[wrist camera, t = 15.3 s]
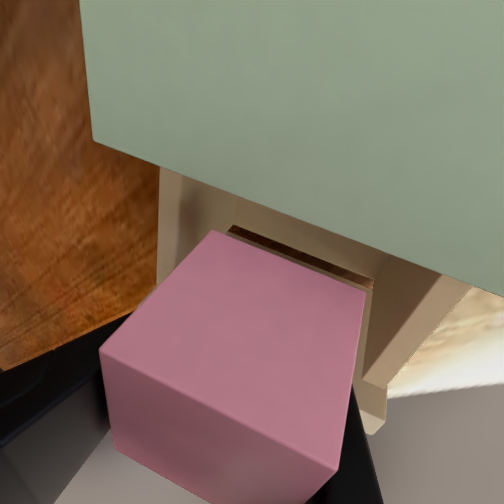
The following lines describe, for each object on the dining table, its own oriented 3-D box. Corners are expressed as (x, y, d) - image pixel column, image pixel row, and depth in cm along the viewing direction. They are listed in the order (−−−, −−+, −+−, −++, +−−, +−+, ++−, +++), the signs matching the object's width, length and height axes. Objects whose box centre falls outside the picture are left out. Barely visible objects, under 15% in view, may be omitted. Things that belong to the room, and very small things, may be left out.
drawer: (348, 363, 21) (327, 480, 16) (202, 298, 23) (138, 383, 17) (573, 30, 10) (767, 38, 5) (256, -47, 12) (127, -106, 6)
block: (313, 382, 11) (271, 539, 8) (196, 327, 12) (112, 448, 9) (367, 291, 8) (338, 472, 5) (211, 227, 9) (96, 348, 6)
